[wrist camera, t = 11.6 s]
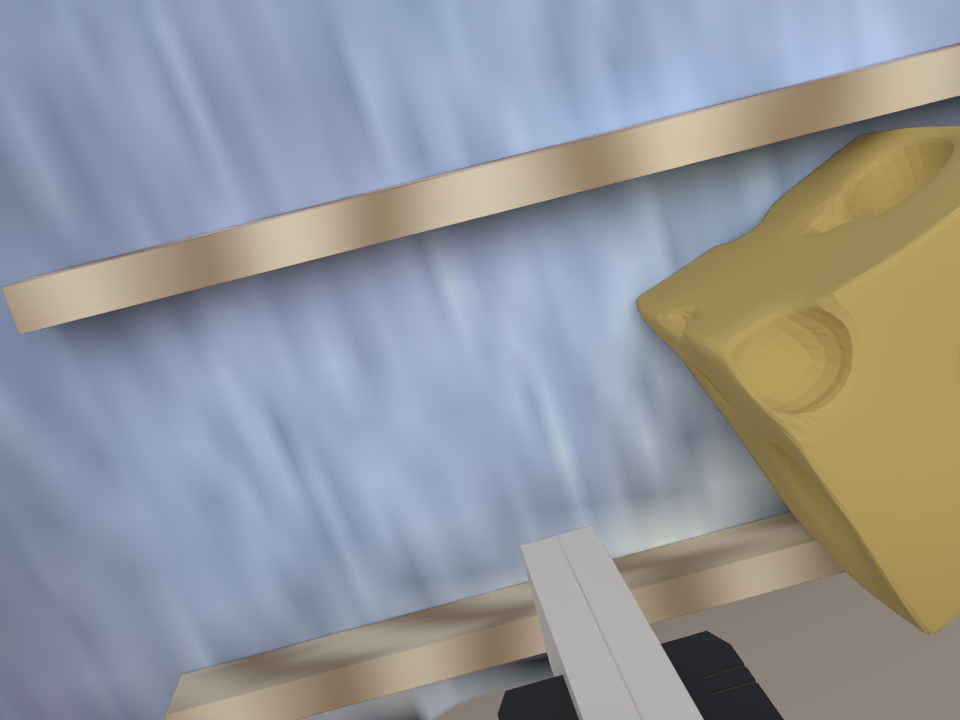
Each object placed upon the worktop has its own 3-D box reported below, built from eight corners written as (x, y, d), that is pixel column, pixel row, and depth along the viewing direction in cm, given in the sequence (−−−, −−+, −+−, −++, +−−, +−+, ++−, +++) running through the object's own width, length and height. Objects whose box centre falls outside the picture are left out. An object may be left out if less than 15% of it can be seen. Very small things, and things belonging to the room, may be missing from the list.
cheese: (624, 300, 32) (723, 367, 22) (872, 112, 31) (1087, 94, 21) (777, 511, 34) (926, 653, 25) (1011, 341, 34) (1259, 418, 24)
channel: (194, 708, 34) (152, 823, 28) (34, 276, 30) (-55, 307, 24) (1093, 467, 35) (1231, 530, 29) (1058, 18, 31) (1211, -13, 25)
